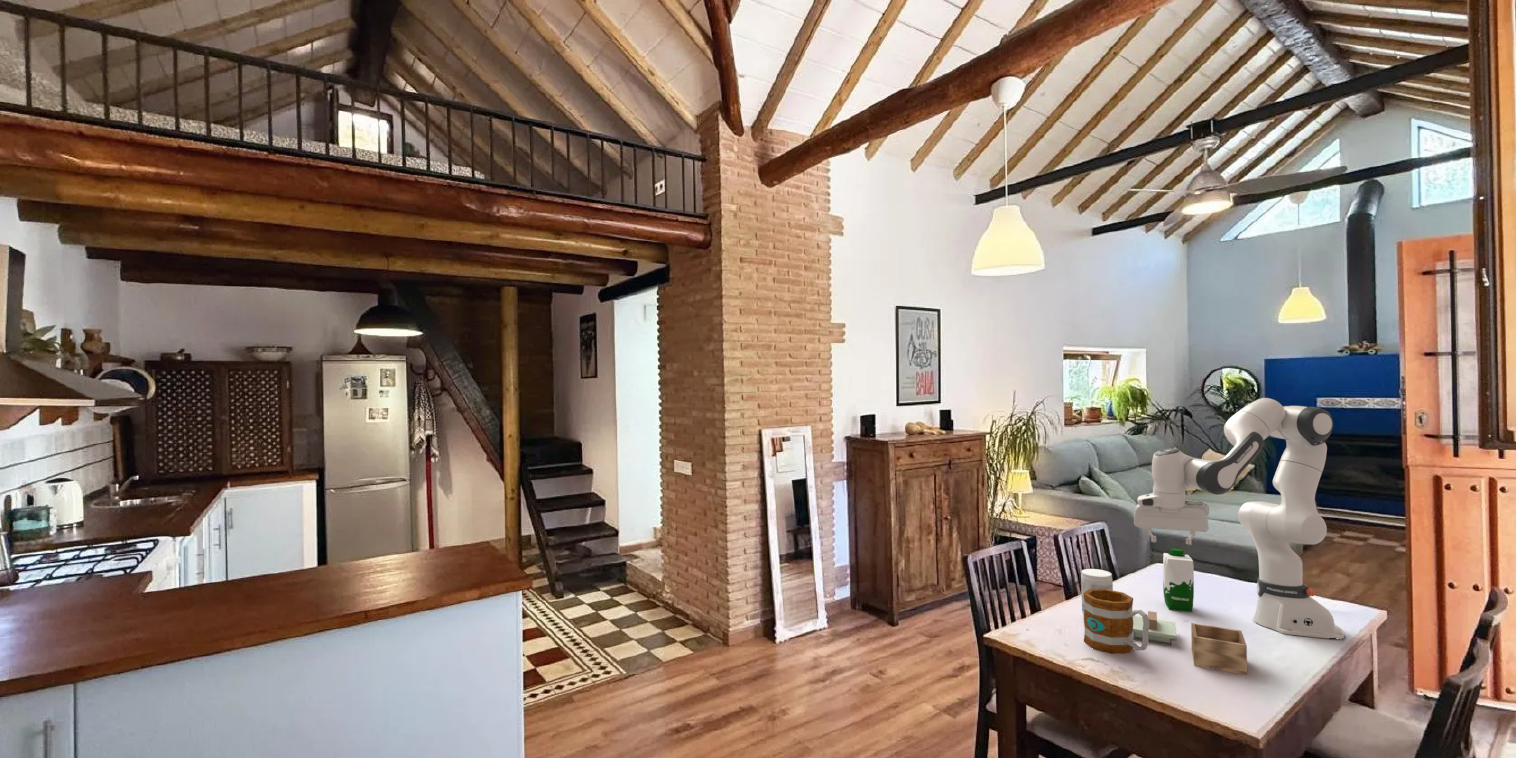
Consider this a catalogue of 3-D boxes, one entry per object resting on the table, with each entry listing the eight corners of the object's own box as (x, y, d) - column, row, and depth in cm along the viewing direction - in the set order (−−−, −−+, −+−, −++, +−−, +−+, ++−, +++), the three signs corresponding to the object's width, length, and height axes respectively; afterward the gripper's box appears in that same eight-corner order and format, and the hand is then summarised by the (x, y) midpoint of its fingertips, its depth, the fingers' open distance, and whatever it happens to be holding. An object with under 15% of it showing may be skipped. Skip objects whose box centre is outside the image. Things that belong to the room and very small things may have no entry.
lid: (1175, 631, 206) (1175, 612, 206) (1176, 645, 195) (1176, 626, 195) (1130, 624, 212) (1130, 606, 212) (1129, 637, 202) (1129, 618, 202)
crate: (1241, 658, 187) (1241, 630, 187) (1246, 674, 177) (1246, 645, 177) (1191, 649, 194) (1191, 622, 194) (1194, 665, 183) (1193, 636, 183)
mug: (1073, 640, 201) (1073, 592, 201) (1104, 633, 207) (1104, 586, 206) (1132, 666, 183) (1131, 613, 183) (1164, 657, 188) (1163, 606, 188)
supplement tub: (1119, 616, 220) (1118, 573, 220) (1103, 623, 215) (1103, 578, 215) (1091, 608, 228) (1090, 566, 228) (1075, 614, 223) (1075, 571, 223)
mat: (1170, 632, 206) (1170, 631, 206) (1171, 646, 196) (1171, 644, 196) (1134, 626, 212) (1134, 625, 212) (1133, 639, 201) (1133, 638, 201)
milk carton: (1190, 605, 231) (1189, 548, 230) (1196, 613, 222) (1195, 555, 222) (1161, 601, 234) (1161, 546, 234) (1166, 610, 226) (1165, 552, 225)
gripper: (1207, 499, 205) (1209, 543, 205) (1133, 496, 215) (1134, 537, 215) (1209, 504, 199) (1211, 548, 200) (1132, 500, 210) (1134, 542, 210)
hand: (1171, 543), depth 208 cm, fingers open, 8 cm apart
